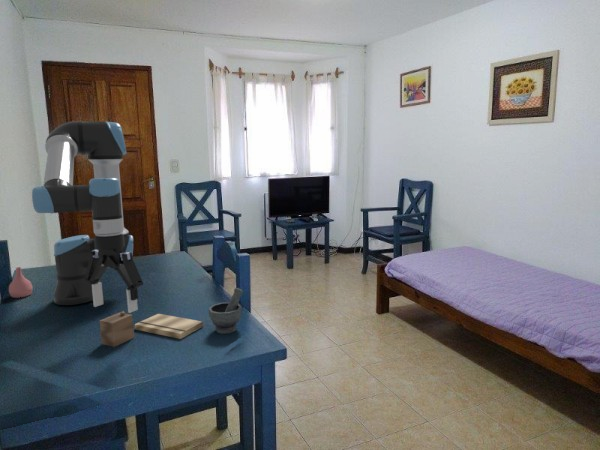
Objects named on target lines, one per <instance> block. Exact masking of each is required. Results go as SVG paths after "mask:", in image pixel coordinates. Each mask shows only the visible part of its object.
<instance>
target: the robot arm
mask: <svg viewBox="0 0 600 450" xmlns="http://www.w3.org/2000/svg"><path fill="white" fill-rule="evenodd" d="M44 145H45V146H44V148H45V151H46V154H47V156H46V164H45V171H44V176H43V177H44V178H43V184H42V185H41V186H35V187H33V188H32V192H31V196H32V197H31V199H32V200H31V201H32V205H33V210H34V211H35V212H36V213H37V214H51V215H52V214H57V213H58V214H59V213H73V212H74V213H76V212H90V211H91V213H92V214H91V215H92V225H93V226H92V229H93V234H94V235H95V236H94V238H90V236H89V234H81V235H79V234H78V235H75V236H74V235H73V236H70V237H66V238H62V239H59V240H57V241H56V242H55V243H54V245H53V249H54V250H53V251H54V253H53V257H54V260H55V271H56V272H55V273H56V279H57V280H56V281H57V282H56V285H55V290H54V293H53V303H54V305H55V304H56V305H57V306H59V305H60V306H73V305H80V304H85V303H88V302H93V307H94V308H97V307H99V306H102V305H104V295H103V283H102V282H101V278H102V277H103V275H104V273H105V271H106V270H107V269H113V270H115V271H117V272H118V274H119V276H120V277H121V279H122V280H123V282H124V283H125V285H126V287H127V288H126V289H125V290H126V291H125V292H126V293H125V294H126V303H127V304H126V305H127V314H131V313H133V312H136V311H138V309H139V307H138V299H139V294H138V292H139V291H138V288H139V287H141V286H143V285H144V282H143V279H142V277H141V275H140V273H139V271H138V269H137V265H136V264H135V261H134V258H133V257H134V256H133V255H134V254H133V253H134V236H133V235H131V234H130V233H129V230H128V229H127V228H126V227H125V224H124V211H123V199H122V186H121V185H122V184H121V175H120V174H121V173H120V164H121V162H122V161H124V158H123V156H125V155H126V154H127V153H128V152H127V149H126V148H127V147H126V143H125V137H124V134H123V129H122V126H121V124H120V123H118V122H114V121H79V120H77V121H76V120H72V121H68V122H65V123H63V124H61V125H58V126H57V127H56V128H54V129H53V130H52V131H51V132H50V133H49V135H48V136H47V137H46V139H45V144H44ZM78 155H79V156H87V161H89V162H90V163H91V164H92V165H93V175H94V178H93V177H92V178H91V179H90V180H89V183H88V184H82V185H81V184H79V185H75V184H74V168H75V167H74V166H75V157H77V156H78Z"/></svg>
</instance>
